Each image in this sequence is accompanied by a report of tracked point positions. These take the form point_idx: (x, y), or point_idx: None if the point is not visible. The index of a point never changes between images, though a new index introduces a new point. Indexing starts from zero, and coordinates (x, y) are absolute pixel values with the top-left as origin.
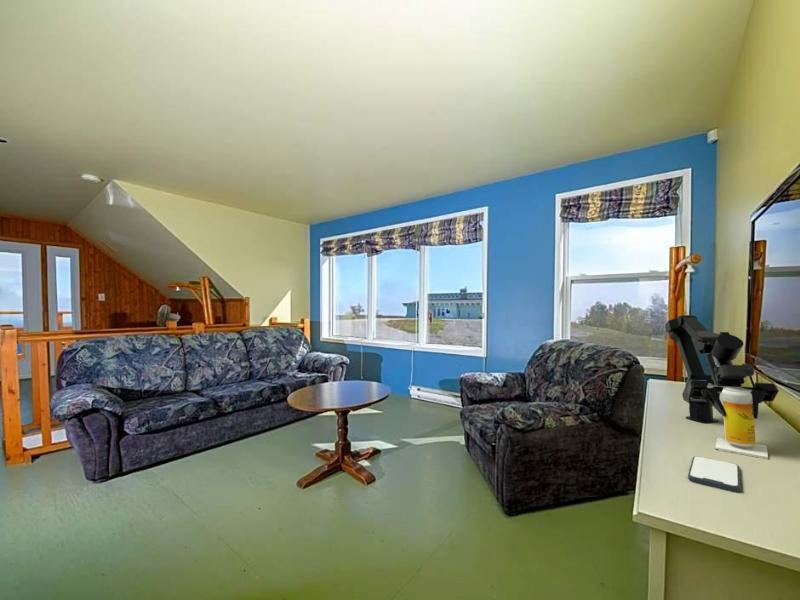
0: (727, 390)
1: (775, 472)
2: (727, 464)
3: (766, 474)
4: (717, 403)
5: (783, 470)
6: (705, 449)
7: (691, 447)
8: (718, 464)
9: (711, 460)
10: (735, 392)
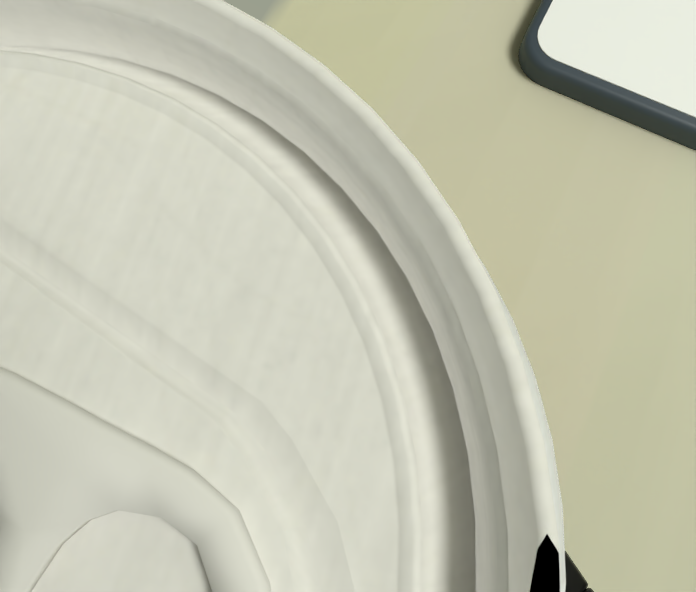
0: (480, 289)
1: (337, 45)
2: (591, 29)
3: (406, 8)
4: (572, 566)
5: None
6: (583, 386)
7: (678, 416)
8: (647, 16)
9: (664, 75)
10: (244, 57)
